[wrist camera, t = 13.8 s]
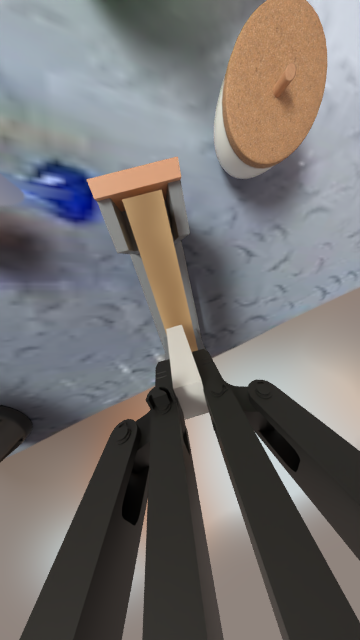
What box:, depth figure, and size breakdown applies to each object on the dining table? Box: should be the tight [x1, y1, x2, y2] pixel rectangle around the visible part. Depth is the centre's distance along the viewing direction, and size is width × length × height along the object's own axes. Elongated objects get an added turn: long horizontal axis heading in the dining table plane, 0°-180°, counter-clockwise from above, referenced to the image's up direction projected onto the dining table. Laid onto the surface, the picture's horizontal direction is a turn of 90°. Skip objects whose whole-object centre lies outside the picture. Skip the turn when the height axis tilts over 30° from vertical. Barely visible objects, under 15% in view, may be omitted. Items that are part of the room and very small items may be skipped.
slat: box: [122, 190, 198, 352], centre depth 18 cm, size 3×24×6 cm, turn 14°
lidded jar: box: [214, 0, 327, 179], centre depth 17 cm, size 11×11×9 cm
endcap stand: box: [87, 157, 207, 360], centre depth 23 cm, size 9×30×14 cm, turn 14°
